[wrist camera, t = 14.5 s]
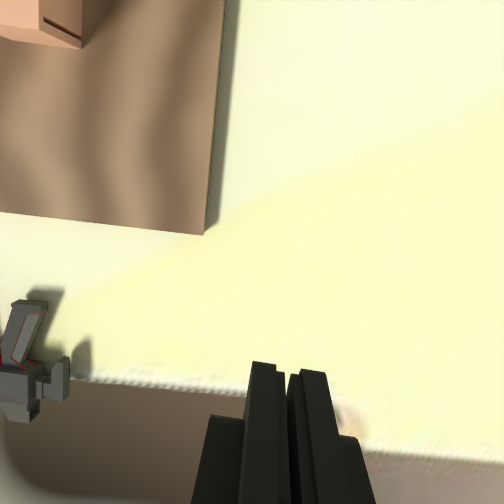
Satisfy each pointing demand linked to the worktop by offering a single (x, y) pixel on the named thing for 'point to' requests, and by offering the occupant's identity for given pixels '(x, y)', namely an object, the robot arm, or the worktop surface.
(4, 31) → the salmon pink block
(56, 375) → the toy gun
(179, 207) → the board
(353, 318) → the worktop surface
